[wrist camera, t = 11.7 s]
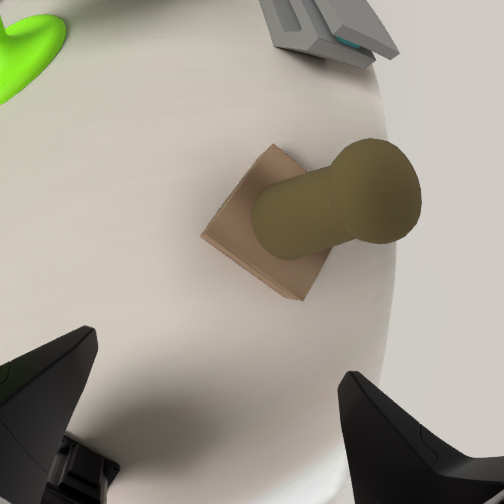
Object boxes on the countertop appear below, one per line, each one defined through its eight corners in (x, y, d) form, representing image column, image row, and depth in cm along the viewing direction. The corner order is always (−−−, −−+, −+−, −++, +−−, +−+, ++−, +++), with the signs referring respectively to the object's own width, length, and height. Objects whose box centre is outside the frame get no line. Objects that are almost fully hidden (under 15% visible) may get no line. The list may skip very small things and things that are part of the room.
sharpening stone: (339, 97, 28) (399, 53, 18) (284, 86, 25) (342, 24, 15) (294, -8, 28) (326, -46, 18) (252, -19, 26) (280, -63, 15)
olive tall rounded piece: (325, 199, 22) (434, 159, 12) (312, 268, 21) (433, 265, 11) (262, 171, 20) (358, 97, 10) (242, 247, 19) (347, 221, 9)
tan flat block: (285, 297, 23) (303, 300, 21) (200, 236, 21) (207, 230, 18) (330, 216, 26) (350, 210, 23) (260, 155, 23) (274, 141, 21)
